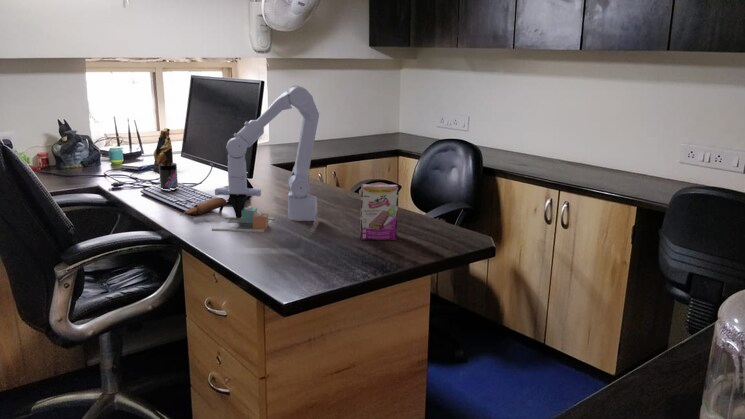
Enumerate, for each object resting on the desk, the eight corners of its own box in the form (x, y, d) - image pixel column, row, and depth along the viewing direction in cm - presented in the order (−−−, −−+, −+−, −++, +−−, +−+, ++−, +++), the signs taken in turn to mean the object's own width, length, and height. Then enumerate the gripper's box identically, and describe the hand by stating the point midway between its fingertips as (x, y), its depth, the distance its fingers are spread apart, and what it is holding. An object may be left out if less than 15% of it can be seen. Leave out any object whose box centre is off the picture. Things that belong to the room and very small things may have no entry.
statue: (151, 171, 285) (148, 128, 281) (168, 169, 290) (165, 127, 285) (160, 175, 276) (157, 130, 271) (177, 173, 281) (175, 129, 276)
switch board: (274, 223, 202) (273, 217, 201) (263, 236, 187) (263, 230, 187) (226, 221, 203) (225, 216, 202) (212, 234, 188) (211, 228, 188)
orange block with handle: (268, 225, 194) (268, 211, 193) (265, 229, 190) (265, 214, 189) (256, 225, 194) (255, 211, 193) (253, 228, 190) (252, 214, 189)
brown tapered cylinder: (206, 204, 224) (214, 190, 222) (221, 215, 223) (229, 201, 221) (177, 216, 207) (185, 201, 205) (193, 228, 206) (201, 213, 204)
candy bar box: (360, 240, 184) (360, 187, 180) (360, 235, 189) (360, 183, 185) (397, 240, 185) (398, 187, 181) (396, 236, 190) (397, 184, 186)
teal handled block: (257, 219, 200) (256, 206, 199) (254, 223, 196) (253, 209, 195) (245, 219, 200) (244, 205, 199) (242, 222, 197) (241, 208, 195)
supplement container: (161, 192, 243) (159, 166, 240) (159, 188, 249) (157, 163, 246) (179, 190, 246) (177, 165, 243) (176, 187, 252) (175, 162, 249)
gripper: (262, 174, 198) (264, 214, 202) (218, 172, 199) (220, 213, 203) (257, 178, 192) (259, 220, 195) (211, 177, 192) (214, 219, 196)
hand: (239, 217), depth 198 cm, fingers closed
